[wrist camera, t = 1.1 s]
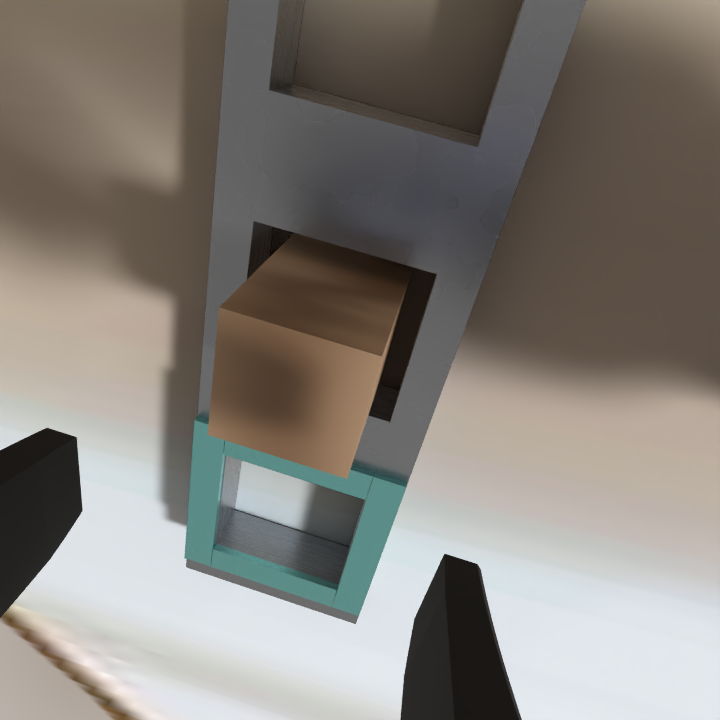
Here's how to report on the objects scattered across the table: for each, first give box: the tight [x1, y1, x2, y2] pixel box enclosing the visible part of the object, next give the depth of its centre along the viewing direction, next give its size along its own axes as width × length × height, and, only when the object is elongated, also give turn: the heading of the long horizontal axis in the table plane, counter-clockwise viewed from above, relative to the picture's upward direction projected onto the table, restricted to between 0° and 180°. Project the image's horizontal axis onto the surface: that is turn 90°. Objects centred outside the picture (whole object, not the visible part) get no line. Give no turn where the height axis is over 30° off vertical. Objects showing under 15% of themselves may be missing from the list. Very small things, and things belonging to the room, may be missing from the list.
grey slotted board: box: [185, 0, 586, 624], centre depth 18 cm, size 8×28×2 cm, turn 168°
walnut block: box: [208, 233, 413, 479], centre depth 17 cm, size 4×4×6 cm
